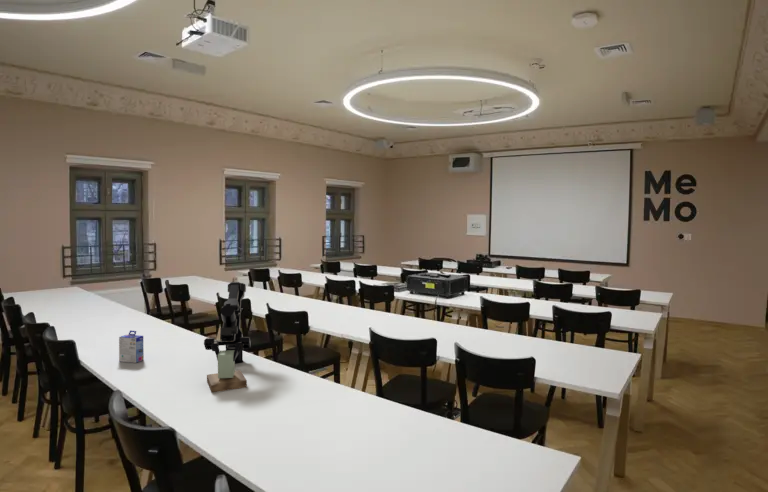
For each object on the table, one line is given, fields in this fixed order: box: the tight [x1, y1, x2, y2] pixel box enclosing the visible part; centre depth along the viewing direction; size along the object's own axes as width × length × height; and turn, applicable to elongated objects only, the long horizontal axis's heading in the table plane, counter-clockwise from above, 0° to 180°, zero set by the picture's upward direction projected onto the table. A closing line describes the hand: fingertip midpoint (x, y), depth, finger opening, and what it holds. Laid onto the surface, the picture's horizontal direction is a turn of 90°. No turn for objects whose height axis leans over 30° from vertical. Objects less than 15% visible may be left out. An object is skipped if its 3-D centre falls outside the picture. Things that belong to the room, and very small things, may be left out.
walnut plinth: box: [206, 369, 248, 394], centre depth 203 cm, size 14×14×3 cm
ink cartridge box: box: [118, 330, 145, 364], centre depth 232 cm, size 10×6×14 cm, turn 78°
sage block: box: [217, 349, 236, 378], centre depth 203 cm, size 6×6×10 cm
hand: (225, 361), depth 201 cm, fingers closed on sage block, 6 cm apart
